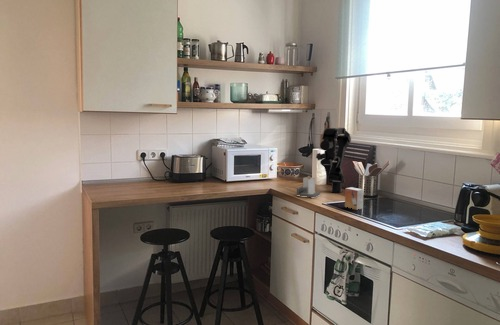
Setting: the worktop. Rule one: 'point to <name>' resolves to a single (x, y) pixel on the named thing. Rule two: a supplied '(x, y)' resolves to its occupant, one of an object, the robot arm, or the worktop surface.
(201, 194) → the worktop surface
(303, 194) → the press bed
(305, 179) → the housing
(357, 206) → the small box
